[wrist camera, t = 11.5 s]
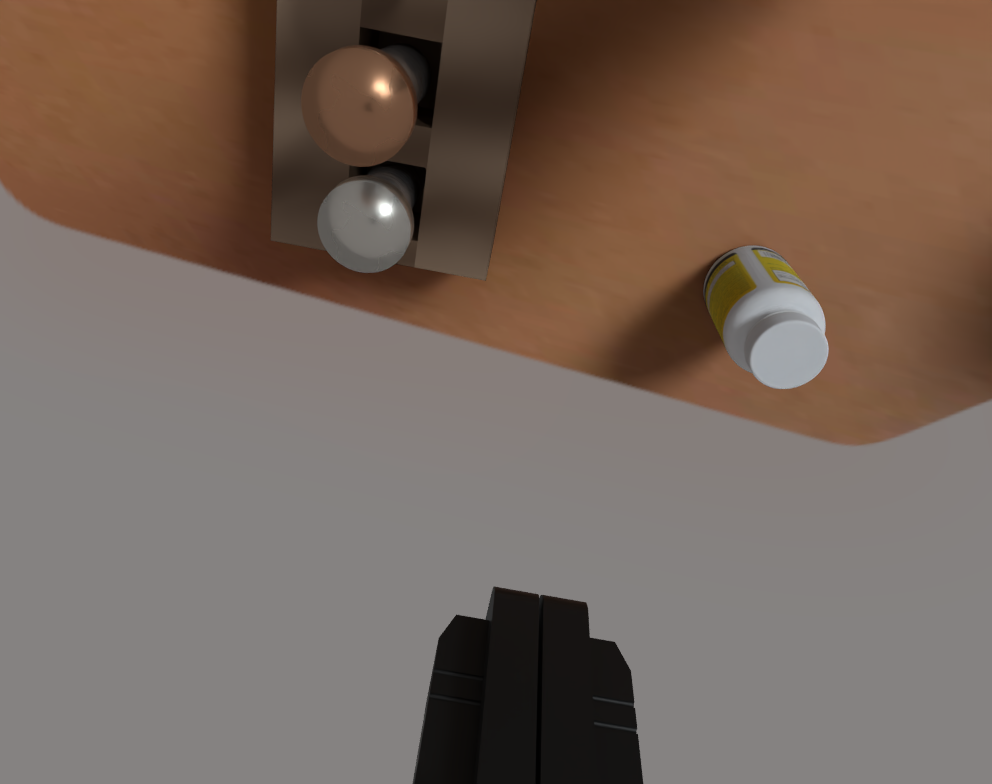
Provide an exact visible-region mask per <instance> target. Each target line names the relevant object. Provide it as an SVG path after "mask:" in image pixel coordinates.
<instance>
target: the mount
mask: <svg viewBox="0 0 992 784" xmlns="http://www.w3.org/2000/svg"><path fill="white" fill-rule="evenodd" d="M535 6H536V0H277V20H276V58H275V96H274V134H273V173H272V211H271V241H276V242H282V243H287V244H292V245H298V246H303V247H308V248H314V249H319V250H324V251H327V250H326V249H325V247H324V246H323V244H322V242H321V239H320V236H319V233H318V226H317V219H318V213H319V209H320V206H321V204H322V202H323V201H324V199H325V198H326V196H327V195H328V194H329V193H330V192H331V191H332V190H333V189H334V188H335V187H336V186H337V185H338V184H339V183H341V182H342V181H344V180H346V179H348V178H350V177H354V176H359V175H366V174H367V173H368V172H369V171H370V170H371V169H372V168H373V166H367V167H358V166H351V165H348V164H344V163H342V162H339V161H337V160H335V159H334V158H332V157H331V156H329V155H328V154H326V153H325V152H324V151H323V150H322V149H321V148H320V147H319V146H318V145H317V144H316V143H315V141H314V140H313V138H312V137H311V135H310V133H309V131H308V130H307V127H306V125H305V122H304V118H303V115H302V108H301V95H302V89H303V85H304V82H305V79H306V77H307V75H308V73H309V71H310V70H311V68H312V67H313V66H314V65H315V64H316V63H317V62H318V61H319V60H320V59H321V58H322V57H324V56H325V55H327V54H329V53H331V52H333V51H335V50H338V49H340V48H343V47H346V46H352V45H365V46H370V47H374V48H377V49H379V50H381V49H382V48H384V47H386V46H388V45H391V44H394V43H406V44H409V45H412V46H414V47H415V48H417V49H418V50H419V51H420V52H421V53H422V54H423V55H424V56H425V58H426V59H427V61H428V63H429V66H430V70H431V84H430V87H429V90H428V92H427V94H426V95H425V96H424V98H423V99H422V100H421V101H420V102H419V103H418V104H417V106H418V110H417V119H416V123H415V127H414V129H413V132H412V134H411V136H410V137H409V139H408V140H407V142H406V143H405V144H404V145H403V147H402V148H401V149H400V150H399V151H398V152H397V153H396V154H395V155H394V156H393V157H391V158H390V159H388V160H387V161H393V162H398V163H403V164H408V165H414V166H419V167H424V168H425V170H426V179H425V187H424V189H423V191H422V193H421V194H420V196H419V198H418V200H417V201H416V203H415V205H414V207H413V209H412V212H413V217H414V232H413V236H412V239H411V241H410V243H409V245H408V247H407V249H406V251H405V253H404V255H403V256H402V258H401V259H400V260H399V261H398V262H397V263H396V264H399V265H405V266H410V267H415V268H421V269H426V270H431V271H437V272H442V273H447V274H453V275H458V276H464V277H469V278H474V279H480V280H485V281H486V276H487V272H488V267H489V262H490V257H491V253H492V248H493V243H494V237H495V231H496V226H497V220H498V215H499V209H500V203H501V198H502V192H503V186H504V181H505V175H506V169H507V164H508V158H509V153H510V147H511V141H512V136H513V130H514V124H515V119H516V113H517V107H518V102H519V96H520V91H521V85H522V79H523V74H524V68H525V62H526V57H527V51H528V46H529V40H530V34H531V29H532V23H533V17H534V12H535Z"/></svg>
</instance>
